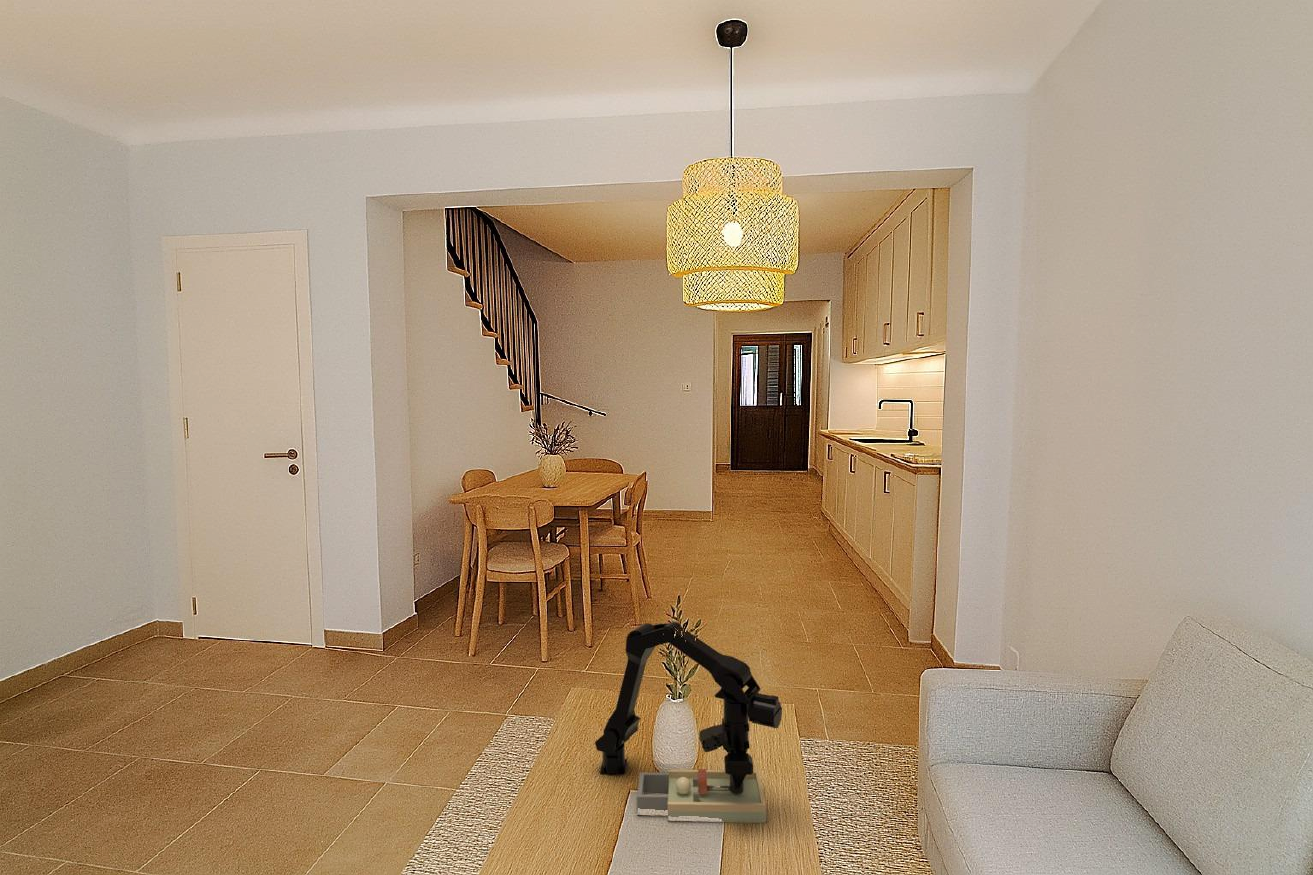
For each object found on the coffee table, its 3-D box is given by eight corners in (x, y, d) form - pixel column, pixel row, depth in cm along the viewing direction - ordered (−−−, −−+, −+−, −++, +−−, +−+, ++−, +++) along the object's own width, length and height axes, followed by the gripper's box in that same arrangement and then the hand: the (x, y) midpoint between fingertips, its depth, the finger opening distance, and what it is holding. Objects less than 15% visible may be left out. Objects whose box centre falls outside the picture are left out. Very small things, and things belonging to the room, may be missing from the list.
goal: (640, 790, 167) (640, 772, 166) (669, 790, 166) (668, 772, 166) (637, 815, 157) (637, 796, 156) (668, 815, 156) (667, 797, 156)
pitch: (669, 785, 168) (669, 768, 168) (759, 786, 167) (759, 769, 167) (667, 821, 154) (667, 803, 154) (765, 822, 153) (765, 804, 153)
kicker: (698, 786, 163) (697, 758, 162) (742, 786, 162) (742, 758, 162) (698, 795, 159) (698, 766, 159) (744, 795, 159) (744, 766, 158)
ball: (675, 788, 163) (675, 773, 163) (690, 788, 163) (690, 773, 163) (675, 797, 159) (675, 782, 159) (691, 797, 159) (690, 782, 159)
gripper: (700, 699, 169) (701, 760, 170) (702, 737, 150) (703, 806, 151) (745, 699, 168) (746, 760, 170) (753, 738, 150) (753, 806, 151)
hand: (736, 782), depth 160 cm, fingers open, 4 cm apart
